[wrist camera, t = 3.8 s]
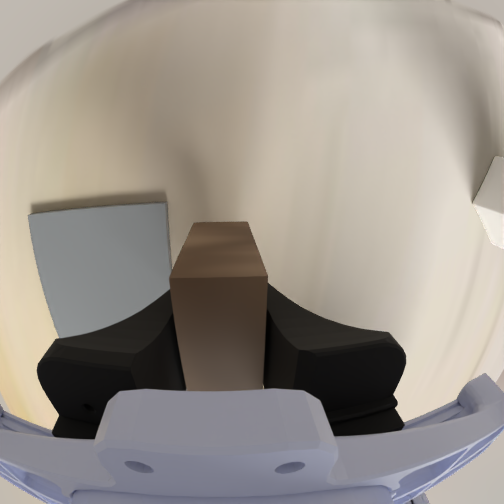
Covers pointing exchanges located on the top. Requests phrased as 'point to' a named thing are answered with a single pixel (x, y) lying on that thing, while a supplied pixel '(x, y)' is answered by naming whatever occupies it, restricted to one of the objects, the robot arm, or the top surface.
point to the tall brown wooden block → (220, 308)
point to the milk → (492, 202)
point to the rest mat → (101, 262)
